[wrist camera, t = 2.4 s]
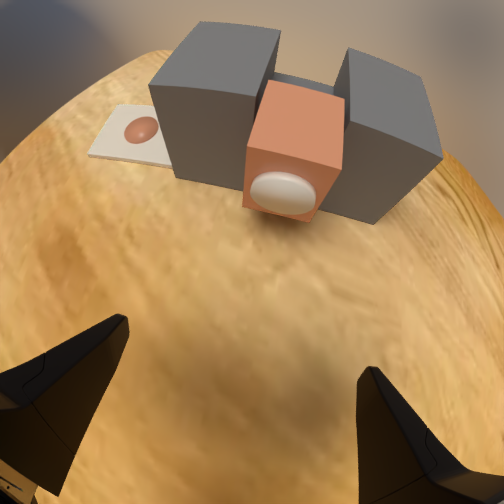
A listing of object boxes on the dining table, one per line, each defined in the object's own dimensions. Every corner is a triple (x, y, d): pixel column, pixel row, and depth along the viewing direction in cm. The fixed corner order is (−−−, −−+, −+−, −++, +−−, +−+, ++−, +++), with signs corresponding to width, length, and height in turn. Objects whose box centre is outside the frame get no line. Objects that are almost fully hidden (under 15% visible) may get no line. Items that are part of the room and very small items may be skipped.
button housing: (373, 224, 26) (443, 158, 15) (175, 177, 26) (148, 84, 15) (373, 149, 29) (420, 77, 18) (206, 108, 29) (200, 21, 18)
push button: (307, 230, 20) (340, 179, 13) (240, 213, 20) (244, 154, 13) (317, 159, 22) (344, 99, 15) (259, 144, 22) (268, 79, 15)
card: (174, 168, 27) (172, 164, 26) (88, 156, 27) (86, 153, 26) (199, 114, 29) (198, 109, 28) (119, 107, 29) (117, 103, 28)
